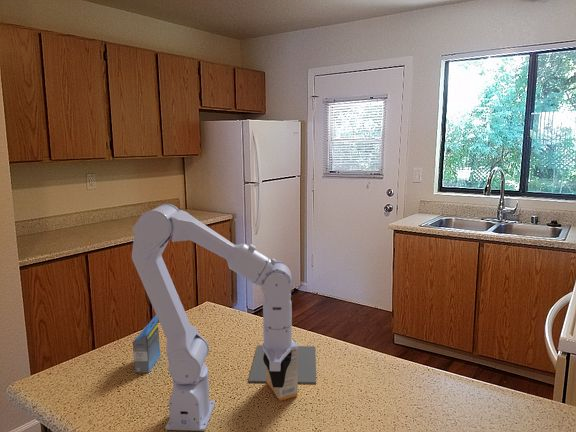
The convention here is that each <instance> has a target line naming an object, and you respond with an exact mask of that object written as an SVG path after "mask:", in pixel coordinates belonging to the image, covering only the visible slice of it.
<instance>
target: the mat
mask: <svg viewBox="0 0 576 432" xmlns="http://www.w3.org/2000/svg"><path fill="white" fill-rule="evenodd" d="M264 353H265V352H264V350H263V344H262V345H260V344H259V345H257V346H256V350H255V353H254V358H253V362H252V366H251V370H250V374H249V377H248V383H262V384H265V383H266V384H268V383H267V382H266V365H265V363H264V361H263V357H264ZM316 365H317V363H316V346H314V345H313V346H311V345H309V346H308V345H305V346H304V345H298V384H304V385H305V384H307V385H308V384H311V385H312V384H314V385H315V384H317V368H316V367H317V366H316Z"/></svg>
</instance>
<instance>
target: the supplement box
mask: <svg viewBox="0 0 576 432" xmlns="http://www.w3.org/2000/svg"><path fill="white" fill-rule="evenodd" d="M292 342H296V341H295V340H294V338H293V337H292ZM291 356H292V357H291V362H290V364H289V366H288V368H287V371H286V375H285V381H284V386H283V388H277V387H273V385H272V382H271V377H270V373H269V370H268V368H267V366H266V382H267V383H266V384H268V386H269V388H270V390H272V392H273V393H274V394H275V396H276V398H277V400H278V401H279V402H281V401H285V400H288V399H291V398H294V397H298V394H299V393H298V388H299V386H298V385H299V383H298V347H297V349H296V350H292V355H291Z"/></svg>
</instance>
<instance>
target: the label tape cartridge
mask: <svg viewBox="0 0 576 432" xmlns="http://www.w3.org/2000/svg"><path fill="white" fill-rule="evenodd" d="M132 350H133V351H132V354H133V366H134V373H135V374H149V373H150V372H151V370H152V369H153V368H154V366H155V364H156V363H157V361H158V360H159V359H160V358H161V347H160V331H159V320H158V318H157V315H156V314H155V315H154V316H153V317H152V318H151V319H150V321H149V322H148V323H147V324H146V325H145V326H144V328H143V329H142V330H141V331H140V332H139V334H138V335H137V336H136V337H135V339H134V340H133V341H132Z"/></svg>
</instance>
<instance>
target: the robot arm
mask: <svg viewBox="0 0 576 432" xmlns="http://www.w3.org/2000/svg"><path fill="white" fill-rule="evenodd" d="M132 232H133V242H132V250H131V260H132V262H133V265H134V266H135V269H136V272H137V274H138V276H139V278H140V280H141V283H142V285H143V287H144V291H145V292H146V294H147V297H148V299H149V301H150V304H151V306H152V309H153V310H154V313H155V315H157V318H158V323H159V324H160V326H161V329H162V331H163V333H164V336H165V338H166V344H165V345H166V351H165V352H166V354H165V355H166V356H167V357H166V358H167V359H168V373H169V376H170V377H171V379H172V392H171V394H170V397H169V399H168V410H169V413H168V414H169V419H168V421H167V423H166V425H165V430H167V431H196V432H197V431H199V432H200V431H201V432H202V431H203V432H204V431H206V429H207V426H208V423H209V420H210V418H211V415H212V413H213V410H214V406H215V404H216V401H215V400H210V379H209V369H208V366H207V364H206V362H205V361H206V358H207V357H208V356H209V353H210V346H209V345H210V344H209V343H208V341H207V339H206V338H204V337H203V336H202V335H201V334H200V332H199V331H198V328H197V327H195V326H194V325H192V323H191V322H190V320H189V317H188V316H187V312H186V310H185V308H184V305H183V304H182V300H181V298H180V296H179V294H178V292H177V290H176V286H175V284H174V282H173V280H172V279H173V278H171V275H170V273H169V270H168V268H167V265H166V263H165V261H164V258H163V252H165V249H166V247H167V245H168V243H169V241H170V240H171V242H172V243H173V242H174V243H175V242H184V241H191V242H192V243H195V244H197V245H198V246H200V247H202V248H204V249H206V250H207V251H210V252H211V253H213V254H215V255H217V256H219V257H221V258H223V259H224V260H226V263H227V266H228V268H229V269H230V270H231V271H232V272H234V273H236V274H237V275H239V276H241V277H242V278H245V279H246V280H247V281H249V282H251V283H252V284H254V285H256V286H260V287H261V291H262V293H263V296H264V297H263V302H262V317H263V318H262V320H263V321H262V322H263V323H262V324H263V327H262V328H263V342H262V345H263V350H264V352H265V353H264V357H263V361H264V363H265V365H266V366H267V368H268V370H269V373H270V377H271V382H272V385H273V387H277V388H283V386H284V381H285V375H286V371H287V368H288V366H289V364H290V362H291V357H292V356H291V355H292V350H296V349H297V347H298V346H299V343H298V342H296V341H295V342H292V338H293V332H292V329H293V326H292V325H293V324H292V323H293V322H292V321H293V317H292V313H293V310H292V309H293V308H292V307H293V306H292V305H293V304H292V299H291V298H292V293H291V292H292V289H293V284H292V272H291V270H290V268H289V267H288V265H287V264H285V263H284V262H283V261H281V260H277V259H275V258H274V257H272V258H270V257H269V256H267V255H265V254H263V253H261V252H259V251H258V250H256V249H257V246H255V245H254V244H252V243H250V244H249V245H248V244H246V243H240V244H235V243H233V242H231V241H230V240H228V239H227V238H225V237H224V236H222V235H221V234H219V233H218V232H216V231H215V230H213V229H212V228H210V227H209V226H207V225H206V224H204V223H203V222H201V221H200V220H198V219H197V218H195V217H194V216H193V215H191V214H190V213H188V212H187V211H185V210H183V209H179V208H178V207H177V206H175V205H173V204H170V203H163V204H160V205H158V206H156V208H153V209H151V210H147V211H145V212H143V213H142V214H141V215H140V216H139V217H138V219H137V221H136V223H135V224H134V226H133V227H132Z"/></svg>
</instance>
